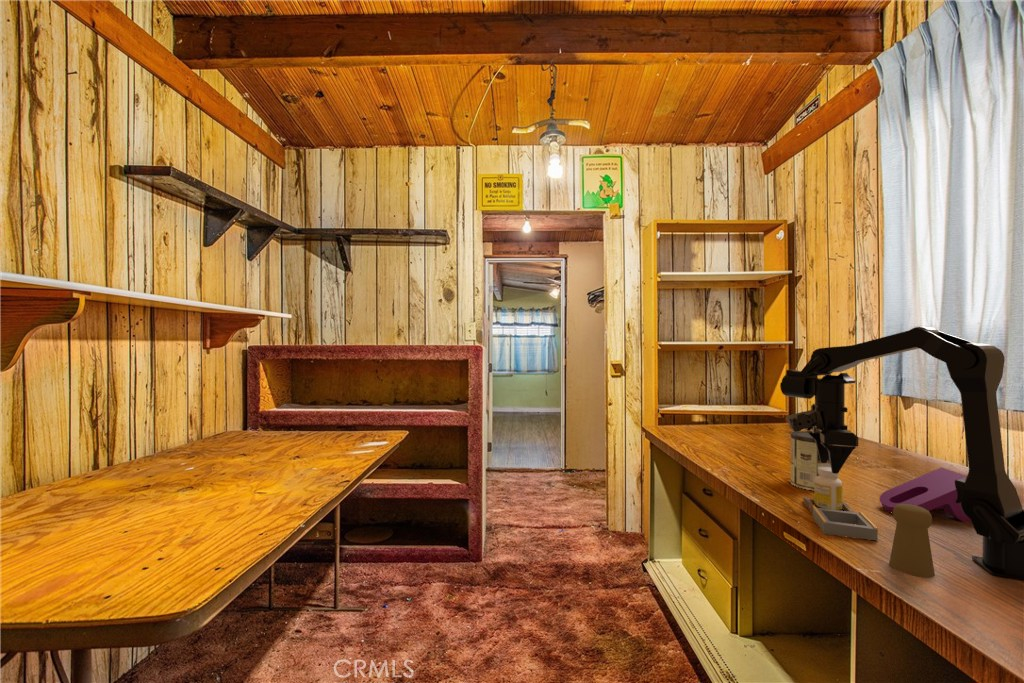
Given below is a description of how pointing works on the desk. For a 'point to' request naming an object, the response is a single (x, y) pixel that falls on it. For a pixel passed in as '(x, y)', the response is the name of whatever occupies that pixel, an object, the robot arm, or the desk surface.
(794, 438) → the coffee can
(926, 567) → the cork
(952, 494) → the mounting bracket
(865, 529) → the socket plate
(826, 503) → the supplement bottle
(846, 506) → the frame
